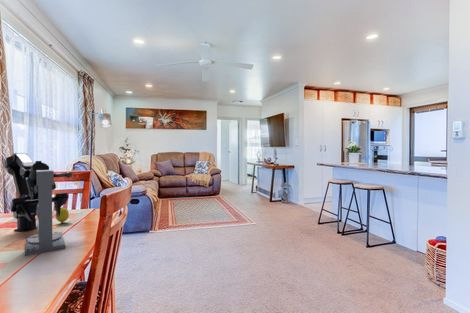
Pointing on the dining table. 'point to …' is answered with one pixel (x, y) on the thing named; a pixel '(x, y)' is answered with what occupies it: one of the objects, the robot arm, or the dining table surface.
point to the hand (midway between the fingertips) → (45, 218)
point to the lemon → (62, 215)
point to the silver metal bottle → (37, 221)
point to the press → (45, 216)
